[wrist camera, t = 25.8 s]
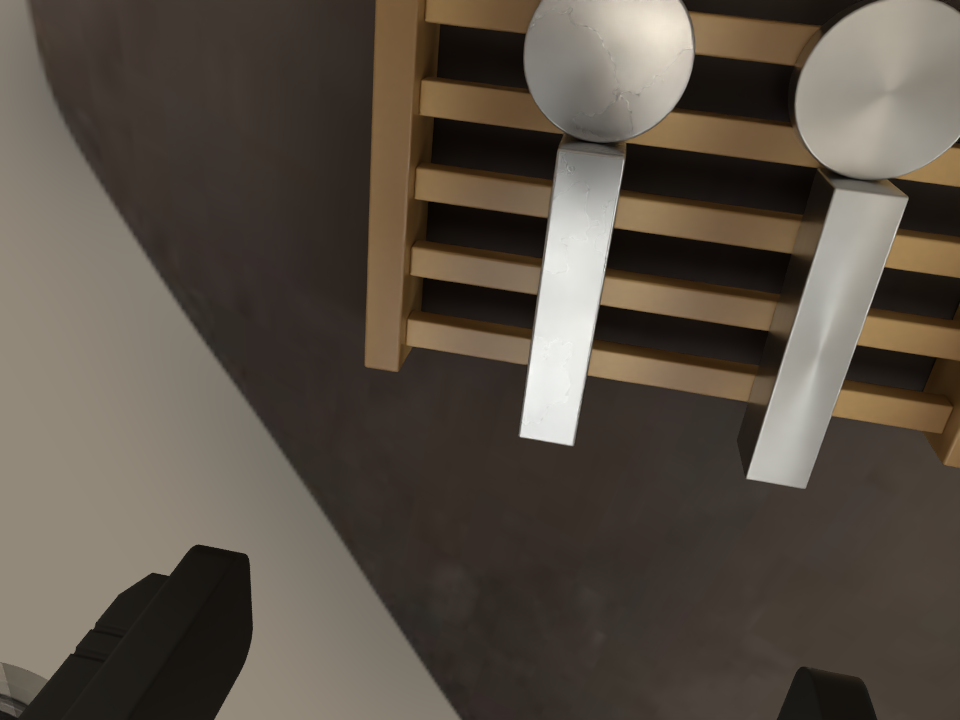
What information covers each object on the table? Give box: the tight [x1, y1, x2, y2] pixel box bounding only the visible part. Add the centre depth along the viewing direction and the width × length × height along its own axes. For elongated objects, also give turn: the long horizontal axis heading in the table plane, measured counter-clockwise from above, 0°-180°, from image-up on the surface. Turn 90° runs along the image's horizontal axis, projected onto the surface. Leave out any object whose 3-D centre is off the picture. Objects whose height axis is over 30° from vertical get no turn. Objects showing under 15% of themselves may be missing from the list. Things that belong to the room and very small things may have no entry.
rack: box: [364, 0, 960, 468], centre depth 23 cm, size 20×12×3 cm, turn 85°
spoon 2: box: [737, 0, 960, 489], centre depth 21 cm, size 13×4×2 cm, turn 175°
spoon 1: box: [518, 0, 695, 447], centre depth 22 cm, size 13×4×2 cm, turn 175°
